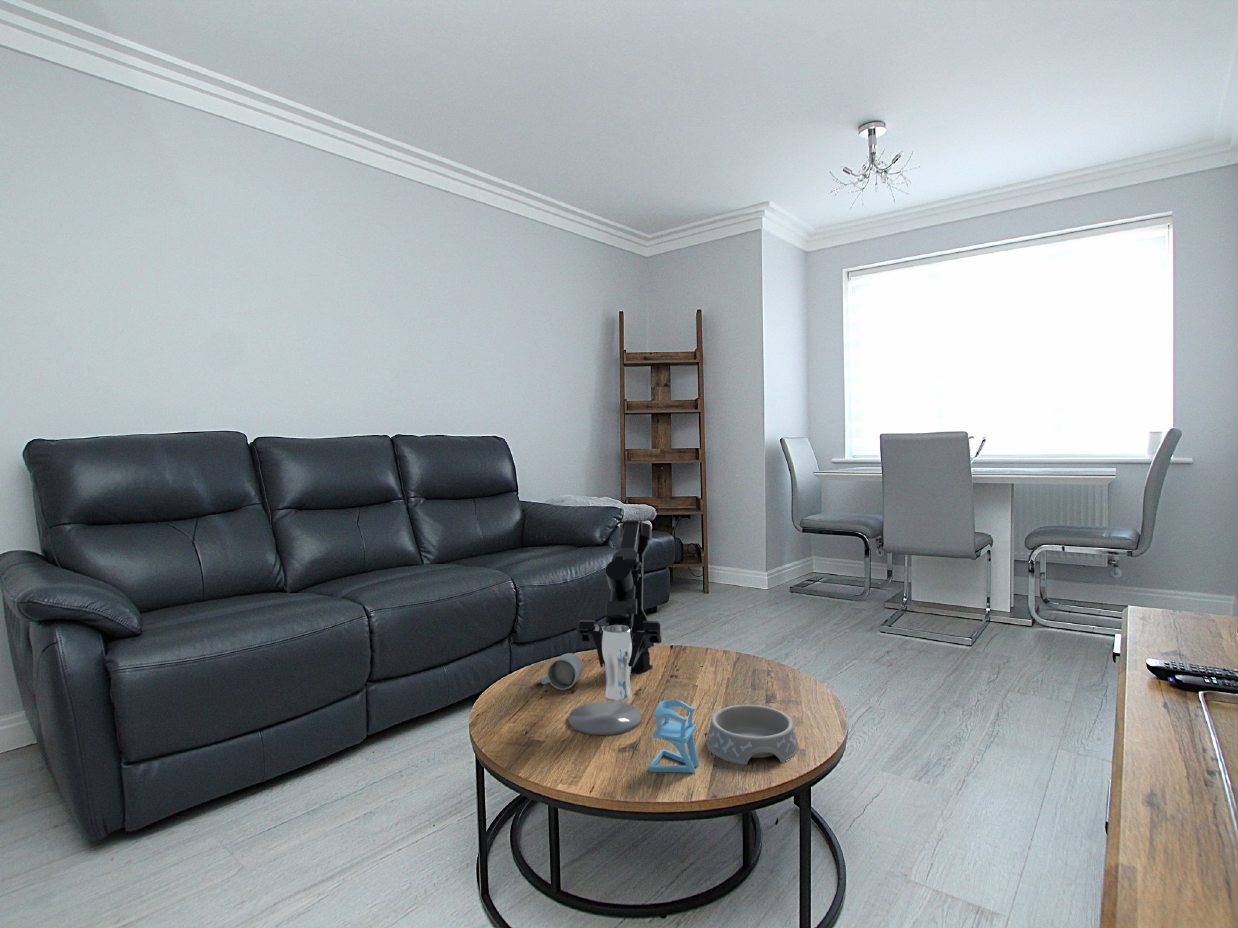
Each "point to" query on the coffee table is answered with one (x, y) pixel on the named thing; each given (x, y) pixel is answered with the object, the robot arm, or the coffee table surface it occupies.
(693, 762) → the chair
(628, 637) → the chrome tumbler cup
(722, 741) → the dog bowl
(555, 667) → the ceramic mug
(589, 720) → the coaster board
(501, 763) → the coffee table surface
